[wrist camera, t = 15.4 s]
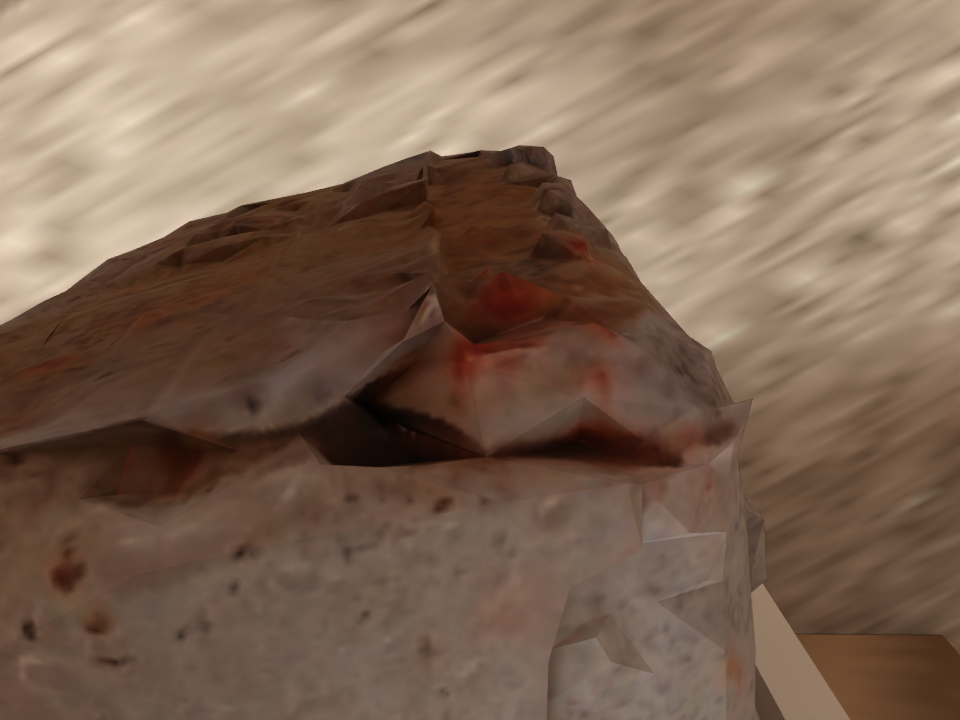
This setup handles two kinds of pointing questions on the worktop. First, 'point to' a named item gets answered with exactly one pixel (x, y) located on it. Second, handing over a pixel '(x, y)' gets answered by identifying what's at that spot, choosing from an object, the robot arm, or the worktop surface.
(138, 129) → the worktop surface
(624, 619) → the food item
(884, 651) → the box base
